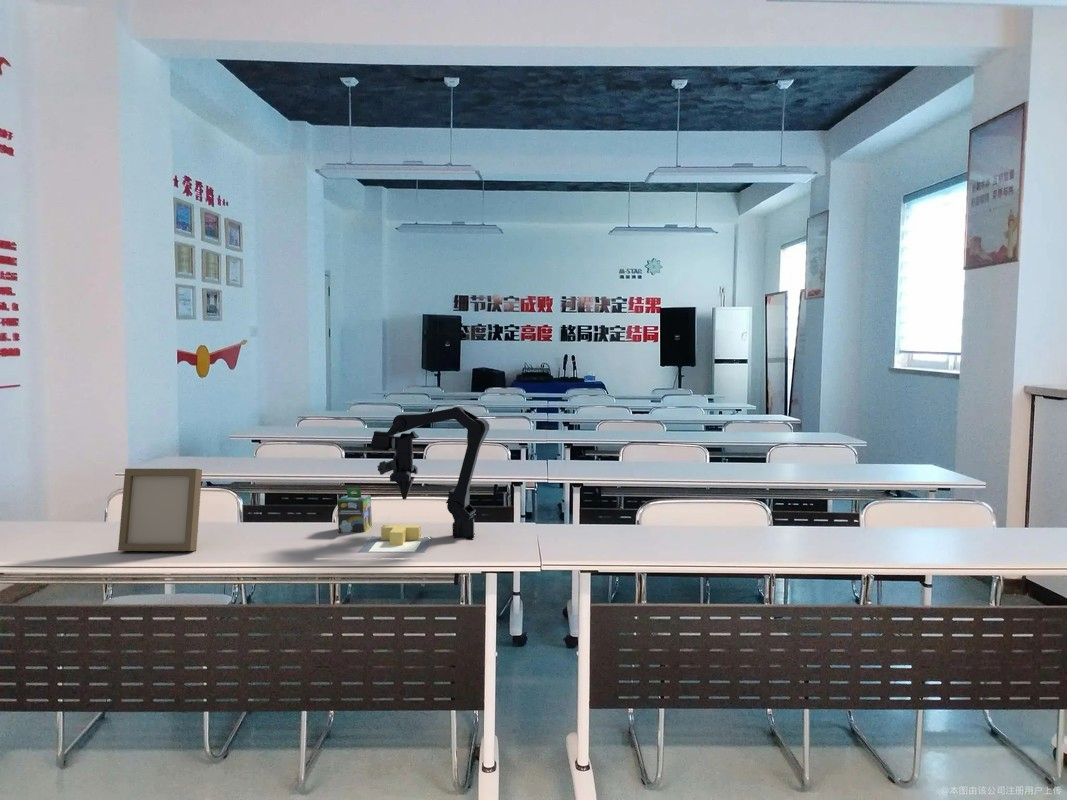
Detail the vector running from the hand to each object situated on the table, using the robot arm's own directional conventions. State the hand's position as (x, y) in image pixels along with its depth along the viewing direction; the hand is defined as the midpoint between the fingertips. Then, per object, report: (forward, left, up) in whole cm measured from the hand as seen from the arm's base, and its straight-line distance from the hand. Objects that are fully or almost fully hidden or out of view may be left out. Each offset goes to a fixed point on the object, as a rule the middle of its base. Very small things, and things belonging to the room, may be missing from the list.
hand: (404, 499), depth 268 cm
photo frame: (+71, +18, -12) cm, 74 cm away
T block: (0, +10, -12) cm, 16 cm away
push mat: (0, +14, -12) cm, 19 cm away
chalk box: (+18, -7, -12) cm, 23 cm away
